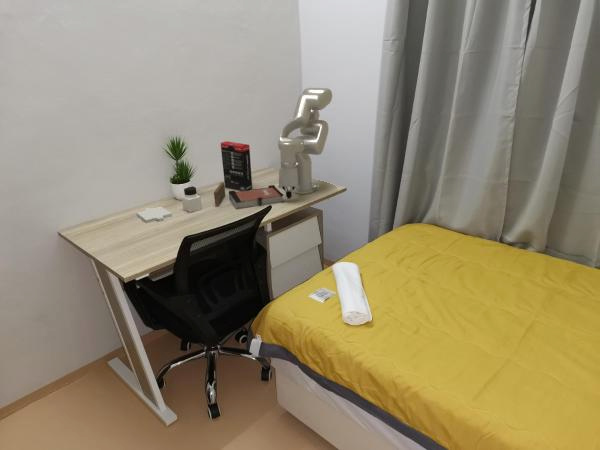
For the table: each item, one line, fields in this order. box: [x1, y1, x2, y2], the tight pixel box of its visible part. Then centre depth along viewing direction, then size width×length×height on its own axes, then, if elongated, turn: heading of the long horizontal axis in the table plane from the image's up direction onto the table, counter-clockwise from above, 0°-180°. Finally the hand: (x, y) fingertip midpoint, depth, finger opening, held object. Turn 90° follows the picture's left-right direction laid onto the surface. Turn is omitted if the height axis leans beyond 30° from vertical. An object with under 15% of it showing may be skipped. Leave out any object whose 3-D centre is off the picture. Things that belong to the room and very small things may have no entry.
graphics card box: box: [220, 141, 253, 191], centre depth 233 cm, size 17×7×27 cm, turn 58°
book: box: [228, 184, 284, 210], centre depth 218 cm, size 26×18×5 cm
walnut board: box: [213, 181, 226, 208], centre depth 218 cm, size 2×17×8 cm, turn 177°
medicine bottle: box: [181, 185, 203, 213], centre depth 207 cm, size 7×7×12 cm
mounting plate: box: [136, 206, 173, 224], centre depth 202 cm, size 18×13×2 cm
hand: (288, 198), depth 216 cm, fingers closed
